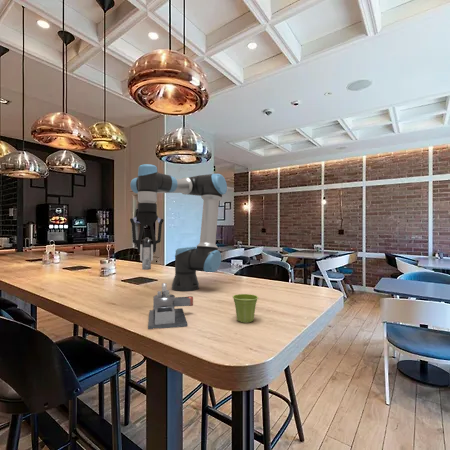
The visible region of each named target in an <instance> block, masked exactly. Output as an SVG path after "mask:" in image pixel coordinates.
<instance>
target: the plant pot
mask: <svg viewBox="0 0 450 450" xmlns="http://www.w3.org/2000/svg"><path fill="white" fill-rule="evenodd" d="M232 299H233V302H234V307H235V314H236V315H235V316H236V321H237V322H241V323H244V324H245V323H251V322H254V320H255V311H256V305H257V303H258V299H259V296H258V295H256V294H255V295H254V294H250V293H241V294H240V293H239V294H234V295H232Z"/></svg>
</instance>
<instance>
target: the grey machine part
mask: <svg viewBox="0 0 450 450" xmlns="http://www.w3.org/2000/svg"><path fill="white" fill-rule="evenodd" d="M167 285H168V284H167V282H164V283H163V282H162V283H161V290H158V291H157V294H156V295H154V296H153V301H152V302H153V304H152V310H153V313H154V314H155V308H160V307H174V310H175V309H176V308H175V307H177V308H178V307H193V306H194V296H192V295H190V296H177V297H176V296H175V295H174V294H171V293H170V289H168V287H167Z"/></svg>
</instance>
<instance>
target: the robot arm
mask: <svg viewBox="0 0 450 450" xmlns="http://www.w3.org/2000/svg"><path fill="white" fill-rule="evenodd" d="M129 186H130V189H131V191H132V192H133V193H134V194H137V202H138V204H137V214H136V216H135V217H133V218H130V219H129V221H130V223H131V229H132V230H131V233H132V243H133V244H136V245H137V247H136V249H137V251H136V252H137V253H139V254H140V255H139V258H140V259H139V260H140V262H142V241H143V233H144V228H145V226H149V228H150V234H151V242H152V243H151V262H153V261H154V253H156V252H157V245H158V244H159V243H161V240H162V239H161V238H162V228H163V227H162V226H163V223H164V221H165V220H164V218H161V217H159V216H158V213H157V212H158V211H157V209H158V208H157V207H158V206H157V205H158V204H157V202H158V200H157V199H158V194H174V193H175V194H176V193H177V194H182V195H189V196H190V195H191V196H199V197H200V198H201V199H202V201H203V204H202V214H201V227H200V236H199V237H200V238H199V243H198V244H197V245H196V246H189V247H188V246H187V247H180V248H177V249H175V255H174V260H175V261H174V264H175V265H174V267H175V268H174V271H175V273H174V277H173V280H172V283H171V290H174V291H177V292H178V291H179V292H191V291H197V290H199V289H200V284H199V280H198V277H197V272H205V273H214V272H216V271H218V270H219V268H220V266H221V263H222V255H221V254H222V253H221V251H220V250H218V249H219V247H218V246H217V244H216V241H217V228H218V217H219V207H220V205H219V204H220V201H221V200H222V199H223V196H224V195H225V194H226V193H227V190H228V184H227V179H225V177H224V175H222V174H220V173H211V174H210V173H209V174H202V175H200V174H199V175H195V176H189V177H186V176H185V177H182V178H176V177H175V176H172V175H170V174H165V173H162V172H158V167H157V166H156V165H154V164H150V163H144V164H141V165H139V166H138V168H137V177H134V178H132V179H131V181H130V185H129ZM137 221H138V223H139V224H140V227H139V232H138V233H139V234H138V237H137V231H136V230H137V229H136V228H137V227H136V223H137ZM156 222H157V223H158V227H157V229H158V231H157V240H156V234H155V229H154V224H155V223H156ZM137 238H138V239H137Z"/></svg>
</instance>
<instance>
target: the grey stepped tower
mask: <svg viewBox="0 0 450 450" xmlns="http://www.w3.org/2000/svg"><path fill="white" fill-rule="evenodd" d="M141 244H142V261H141V262H142V263H141V264H142V265H141V270H144V271H148V270H151V269H152V261H151V244H152V238H149V237H145V238H142V240H141Z"/></svg>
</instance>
